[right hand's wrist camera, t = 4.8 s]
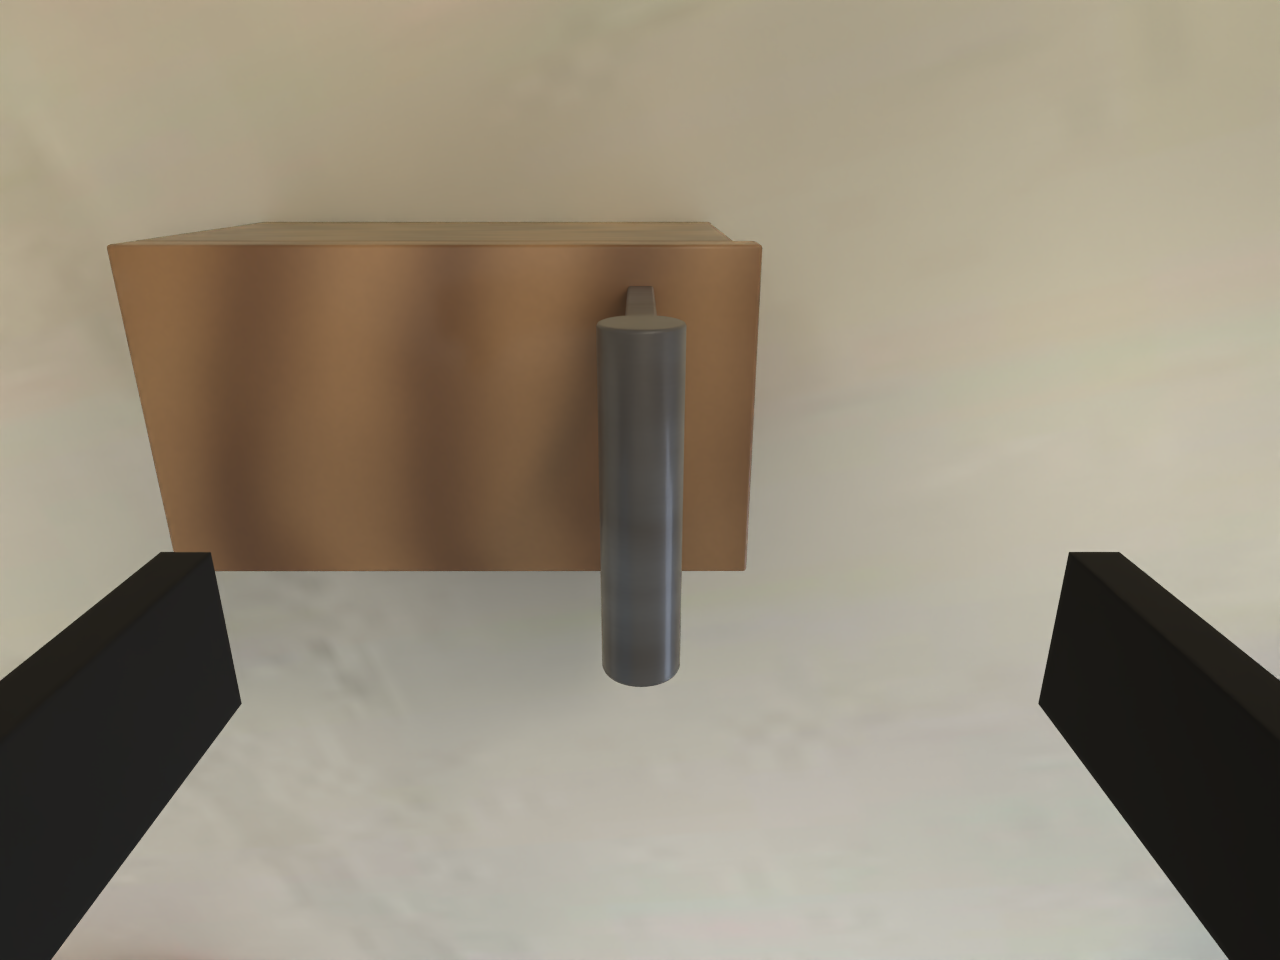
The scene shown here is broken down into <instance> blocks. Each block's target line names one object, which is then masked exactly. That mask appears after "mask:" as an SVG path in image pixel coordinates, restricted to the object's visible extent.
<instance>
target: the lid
mask: <svg viewBox="0 0 1280 960" xmlns="http://www.w3.org/2000/svg"><path fill="white" fill-rule="evenodd" d="M107 250H108V255H109V259H110V264H111V268H112V273H113V277H114V282H115V287H116V291H117V296H118V300H119V305H120V309H121V314H122V318H123V323H124V328H125V332H126V337H127V341H128V346H129V350H130V355H131V359H132V364H133V368H134V373H135V378H136V382H137V387H138V391H139V396H140V400H141V405H142V409H143V414H144V419H145V423H146V428H147V432H148V437H149V441H150V446H151V450H152V455H153V460H154V464H155V469H156V473H157V478H158V482H159V487H160V491H161V496H162V500H163V505H164V510H165V514H166V519H167V523H168V528H169V532H170V537H171V541H172V546H173V551H174V552H211V555H212V560H213V565H214V570H215V571H601V616H602V666H603V669H604V671H605V673H606V674H607V675H608V676H609V677H610V678H611V679H613V680H614V681H616V682H618V683H621V684H624V685H628V686H635V687H647V686H654V685H658V684H661V683H664V682H666V681H668V680H669V679H671V678H672V677H673V676H674V675H675V674H676V673H677V671H678V669H679V666H680V627H681V576H682V571H744V570H745V569H746V560H747V540H748V520H749V500H750V480H751V461H752V441H753V421H754V401H755V381H756V361H757V342H758V322H759V302H760V282H761V262H762V246H761V245H760V244H758V243H757V242H754V241H131V242H124V243H117V244H110V245H108V246H107Z"/></svg>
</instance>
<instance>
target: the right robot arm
mask: <svg viewBox="0 0 1280 960" xmlns="http://www.w3.org/2000/svg"><path fill="white" fill-rule="evenodd" d="M241 704H242V703H241V699H240V694H239V689H238V684H237V679H236V674H235V669H234V664H233V659H232V654H231V649H230V644H229V639H228V634H227V629H226V624H225V619H224V615H223V610H222V605H221V600H220V595H219V590H218V585H217V580H216V575H215V570H214V565H213V560H212V555H211V552H160V553H159V554H158V555H157V556H155V557H154V558H153V559H152V560H150V561H149V562H148V563H147V564H145V565H144V566H143V567H142V568H140V569H139V570H138V571H137V572H135V573H134V574H133V575H132V576H130V577H129V578H128V579H127V580H125V581H124V582H123V583H122V584H120V585H119V586H118V587H117V588H115V589H114V590H113V591H112V592H110V593H109V594H108V595H107V596H105V597H104V598H103V599H102V600H100V601H99V602H98V603H97V604H95V605H94V606H93V607H92V608H90V609H89V610H88V611H87V612H85V613H84V614H83V615H82V616H80V617H79V618H78V619H77V620H75V621H74V622H73V623H72V624H71V625H69V626H68V627H67V628H66V629H64V630H63V631H62V632H61V633H59V634H58V635H57V636H56V637H54V638H53V639H52V640H51V641H49V642H48V643H47V644H46V645H44V646H43V647H42V648H41V649H39V650H38V651H37V652H36V653H34V654H33V655H32V656H31V657H29V658H28V659H27V660H26V661H24V662H23V663H22V664H21V665H19V666H18V667H17V668H16V669H14V670H13V671H12V672H11V673H9V674H8V675H7V676H6V677H4V678H3V679H2V680H1V681H0V960H51V959H52V958H53V956H54V955H55V954H56V952H57V951H58V950H59V948H60V947H61V946H62V944H63V943H64V942H65V940H66V939H67V937H68V936H69V935H70V933H71V932H72V931H73V929H74V928H75V927H76V925H77V924H78V923H79V921H80V920H81V919H82V917H83V916H84V915H85V913H86V912H87V911H88V909H89V908H90V907H91V905H92V904H93V903H94V901H95V900H96V899H97V897H98V896H99V894H100V893H101V892H102V890H103V889H104V888H105V886H106V885H107V884H108V882H109V881H110V880H111V878H112V877H113V876H114V874H115V873H116V872H117V870H118V869H119V868H120V866H121V865H122V864H123V862H124V861H125V860H126V858H127V857H128V856H129V854H130V853H131V851H132V850H133V849H134V847H135V846H136V845H137V843H138V842H139V841H140V839H141V838H142V837H143V835H144V834H145V833H146V831H147V830H148V829H149V827H150V826H151V825H152V823H153V822H154V821H155V819H156V818H157V817H158V815H159V814H160V813H161V811H162V810H163V808H164V807H165V806H166V804H167V803H168V802H169V800H170V799H171V798H172V796H173V795H174V794H175V792H176V791H177V790H178V788H179V787H180V786H181V784H182V783H183V782H184V780H185V779H186V778H187V776H188V775H189V774H190V772H191V771H192V770H193V768H194V767H195V765H196V764H197V763H198V761H199V760H200V759H201V757H202V756H203V755H204V753H205V752H206V751H207V749H208V748H209V747H210V745H211V744H212V743H213V741H214V740H215V739H216V737H217V736H218V735H219V733H220V732H221V731H222V729H223V728H224V727H225V725H226V724H227V722H228V721H229V720H230V718H231V717H232V716H233V714H234V713H235V712H236V710H237V709H238V708H239V706H240V705H241ZM1038 704H1039V705H1040V706H1041V708H1042V709H1043V710H1044V712H1045V713H1046V714H1047V716H1048V717H1049V718H1050V720H1051V721H1052V722H1053V724H1054V725H1055V727H1056V728H1057V729H1058V731H1059V732H1060V733H1061V735H1062V736H1063V737H1064V739H1065V740H1066V741H1067V743H1068V744H1069V745H1070V747H1071V748H1072V749H1073V751H1074V752H1075V753H1076V755H1077V756H1078V757H1079V759H1080V760H1081V761H1082V763H1083V764H1084V765H1085V767H1086V768H1087V770H1088V771H1089V772H1090V774H1091V775H1092V776H1093V778H1094V779H1095V780H1096V782H1097V783H1098V784H1099V786H1100V787H1101V788H1102V790H1103V791H1104V792H1105V794H1106V795H1107V796H1108V798H1109V799H1110V800H1111V802H1112V803H1113V804H1114V806H1115V807H1116V808H1117V810H1118V811H1119V813H1120V814H1121V815H1122V817H1123V818H1124V819H1125V821H1126V822H1127V823H1128V825H1129V826H1130V827H1131V829H1132V830H1133V831H1134V833H1135V834H1136V835H1137V837H1138V838H1139V839H1140V841H1141V842H1142V843H1143V845H1144V846H1145V847H1146V849H1147V850H1148V851H1149V853H1150V854H1151V856H1152V857H1153V858H1154V860H1155V861H1156V862H1157V864H1158V865H1159V866H1160V868H1161V869H1162V870H1163V872H1164V873H1165V874H1166V876H1167V877H1168V878H1169V880H1170V881H1171V882H1172V884H1173V885H1174V886H1175V888H1176V889H1177V890H1178V892H1179V893H1180V894H1181V896H1182V897H1183V899H1184V900H1185V901H1186V903H1187V904H1188V905H1189V907H1190V908H1191V909H1192V911H1193V912H1194V913H1195V915H1196V916H1197V917H1198V919H1199V920H1200V921H1201V923H1202V924H1203V925H1204V927H1205V928H1206V929H1207V931H1208V932H1209V933H1210V935H1211V936H1212V937H1213V939H1214V940H1215V942H1216V943H1217V944H1218V946H1219V947H1220V948H1221V950H1222V951H1223V952H1224V954H1225V955H1226V956H1227V958H1228V959H1229V960H1280V681H1279V680H1278V679H1277V678H1276V677H1274V676H1273V675H1272V674H1271V673H1269V672H1268V671H1267V670H1266V669H1264V668H1263V667H1262V666H1261V665H1259V664H1258V663H1257V662H1256V661H1254V660H1253V659H1252V658H1251V657H1249V656H1248V655H1247V654H1246V653H1244V652H1243V651H1242V650H1241V649H1239V648H1238V647H1237V646H1236V645H1234V644H1233V643H1232V642H1231V641H1229V640H1228V639H1227V638H1226V637H1224V636H1223V635H1222V634H1221V633H1219V632H1218V631H1217V630H1216V629H1214V628H1213V627H1212V626H1211V625H1209V624H1208V623H1207V622H1206V621H1205V620H1203V619H1202V618H1201V617H1200V616H1198V615H1197V614H1196V613H1195V612H1193V611H1192V610H1191V609H1190V608H1188V607H1187V606H1186V605H1185V604H1183V603H1182V602H1181V601H1180V600H1178V599H1177V598H1176V597H1175V596H1173V595H1172V594H1171V593H1170V592H1168V591H1167V590H1166V589H1165V588H1163V587H1162V586H1161V585H1160V584H1158V583H1157V582H1156V581H1155V580H1153V579H1152V578H1151V577H1150V576H1148V575H1147V574H1146V573H1145V572H1143V571H1142V570H1141V569H1140V568H1138V567H1137V566H1136V565H1135V564H1133V563H1132V562H1131V561H1130V560H1128V559H1127V558H1126V557H1125V556H1123V555H1122V554H1121V553H1120V552H1069V555H1068V560H1067V565H1066V570H1065V575H1064V580H1063V585H1062V590H1061V595H1060V600H1059V605H1058V610H1057V615H1056V619H1055V624H1054V629H1053V634H1052V639H1051V644H1050V649H1049V654H1048V659H1047V664H1046V669H1045V674H1044V679H1043V684H1042V689H1041V694H1040V699H1039V703H1038Z"/></svg>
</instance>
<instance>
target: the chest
mask: <svg viewBox="0 0 1280 960" xmlns="http://www.w3.org/2000/svg"><path fill="white" fill-rule="evenodd" d="M137 241H732V240H731V239H730V238H728V237H727V236H726V235H724V234H723V233H722V232H721V231H719V230H718V229H717V228H715V227H714V226H713V225H711V223H709V222H262V223H255V224H248V225H241V226H234V227H228V228H221V229H214V230H207V231H200V232H193V233H186V234H179V235H172V236H165V237H158V238H151V239H144V240H137Z"/></svg>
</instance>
